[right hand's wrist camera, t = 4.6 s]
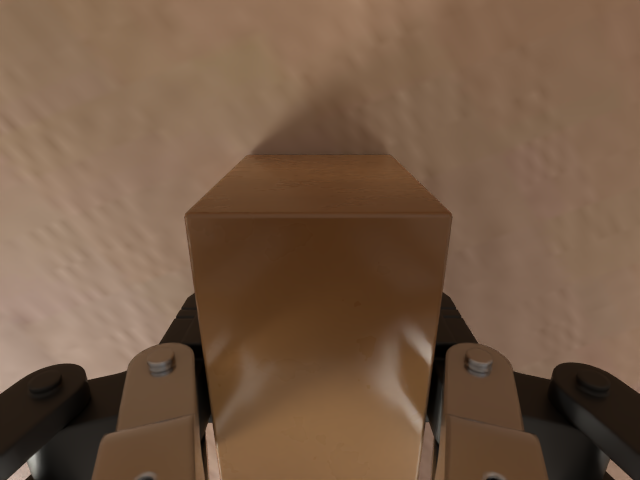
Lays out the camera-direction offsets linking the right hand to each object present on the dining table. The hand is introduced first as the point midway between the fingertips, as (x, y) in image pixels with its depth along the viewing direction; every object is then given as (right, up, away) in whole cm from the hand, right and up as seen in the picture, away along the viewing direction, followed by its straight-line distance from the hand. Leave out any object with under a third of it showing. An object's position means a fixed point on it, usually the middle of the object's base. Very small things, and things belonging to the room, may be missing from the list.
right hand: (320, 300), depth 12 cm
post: (0, -29, +13) cm, 32 cm away
